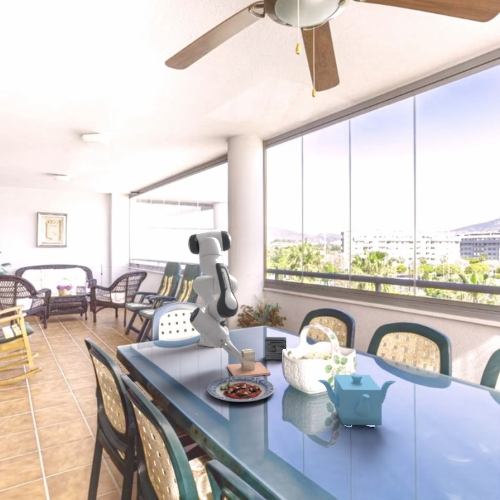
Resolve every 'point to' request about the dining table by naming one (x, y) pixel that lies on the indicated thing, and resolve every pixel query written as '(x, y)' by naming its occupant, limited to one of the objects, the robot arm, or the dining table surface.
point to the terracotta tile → (238, 371)
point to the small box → (274, 348)
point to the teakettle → (357, 399)
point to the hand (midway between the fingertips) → (240, 358)
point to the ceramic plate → (241, 388)
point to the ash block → (248, 359)
